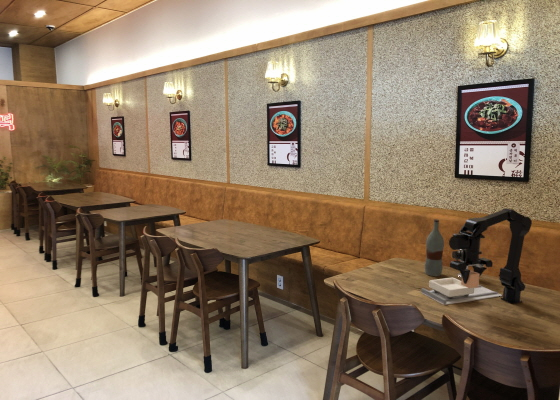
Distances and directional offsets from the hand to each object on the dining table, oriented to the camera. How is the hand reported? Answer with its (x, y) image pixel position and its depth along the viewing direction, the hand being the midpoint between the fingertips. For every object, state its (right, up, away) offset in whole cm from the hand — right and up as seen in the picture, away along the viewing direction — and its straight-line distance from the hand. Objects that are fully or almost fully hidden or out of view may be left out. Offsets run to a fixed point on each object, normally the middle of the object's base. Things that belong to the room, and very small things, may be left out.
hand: (469, 282), depth 192 cm
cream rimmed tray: (-3, -8, +14) cm, 16 cm away
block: (0, -1, 0) cm, 1 cm away
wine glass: (+16, -5, +44) cm, 47 cm away
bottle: (0, -4, +47) cm, 47 cm away
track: (+3, -9, +16) cm, 19 cm away
